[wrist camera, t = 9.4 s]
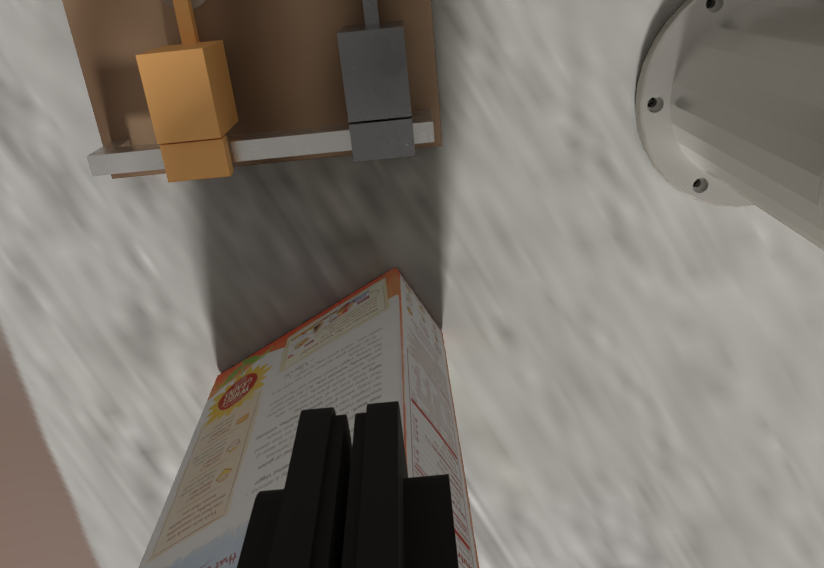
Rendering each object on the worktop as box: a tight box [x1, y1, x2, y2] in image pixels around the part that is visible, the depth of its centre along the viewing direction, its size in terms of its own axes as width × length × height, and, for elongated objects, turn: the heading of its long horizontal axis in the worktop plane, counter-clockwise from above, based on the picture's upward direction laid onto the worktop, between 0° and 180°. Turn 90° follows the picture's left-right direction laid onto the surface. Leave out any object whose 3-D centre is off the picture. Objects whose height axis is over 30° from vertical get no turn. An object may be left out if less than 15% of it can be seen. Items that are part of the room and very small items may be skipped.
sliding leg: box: [135, 0, 239, 182], centre depth 33 cm, size 3×10×4 cm, turn 6°
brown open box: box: [62, 0, 442, 179], centre depth 36 cm, size 18×12×2 cm, turn 95°
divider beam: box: [87, 0, 435, 176], centre depth 34 cm, size 17×9×4 cm, turn 95°
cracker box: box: [139, 268, 479, 568], centre depth 35 cm, size 14×6×21 cm, turn 122°
